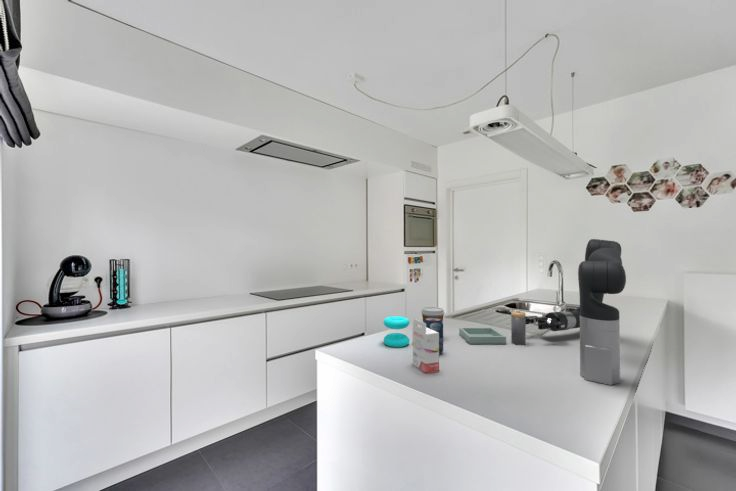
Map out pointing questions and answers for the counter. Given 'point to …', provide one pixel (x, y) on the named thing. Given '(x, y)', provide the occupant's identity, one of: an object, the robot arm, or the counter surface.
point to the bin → (482, 336)
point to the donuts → (396, 338)
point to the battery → (518, 328)
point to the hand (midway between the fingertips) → (529, 324)
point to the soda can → (436, 329)
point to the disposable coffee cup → (432, 313)
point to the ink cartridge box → (425, 347)
